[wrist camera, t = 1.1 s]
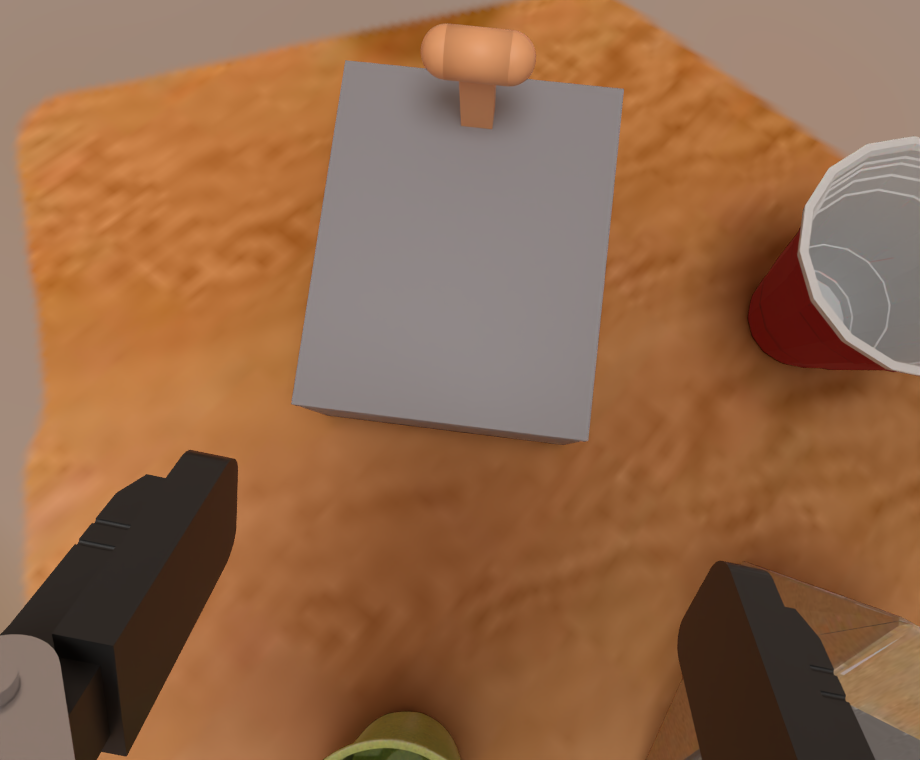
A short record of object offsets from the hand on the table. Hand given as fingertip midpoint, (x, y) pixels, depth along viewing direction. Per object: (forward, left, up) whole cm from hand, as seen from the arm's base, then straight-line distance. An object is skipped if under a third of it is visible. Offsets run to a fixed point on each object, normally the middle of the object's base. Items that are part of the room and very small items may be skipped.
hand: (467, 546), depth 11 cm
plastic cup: (-21, +6, -28) cm, 35 cm away
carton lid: (-8, -9, -21) cm, 25 cm away
